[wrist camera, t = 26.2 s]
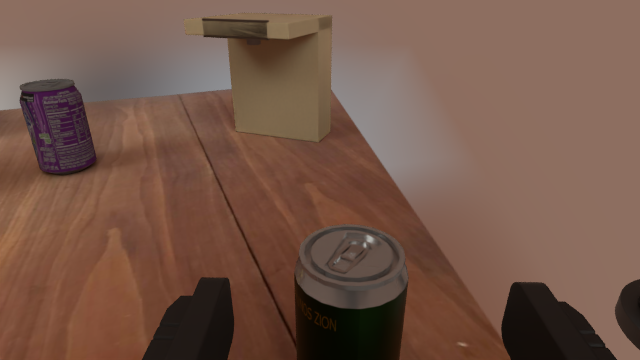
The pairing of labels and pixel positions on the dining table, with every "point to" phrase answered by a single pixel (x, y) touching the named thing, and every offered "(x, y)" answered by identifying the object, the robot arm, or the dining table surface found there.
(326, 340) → the beer can
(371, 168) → the dining table surface
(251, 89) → the lidded cardboard box
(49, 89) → the beverage can
